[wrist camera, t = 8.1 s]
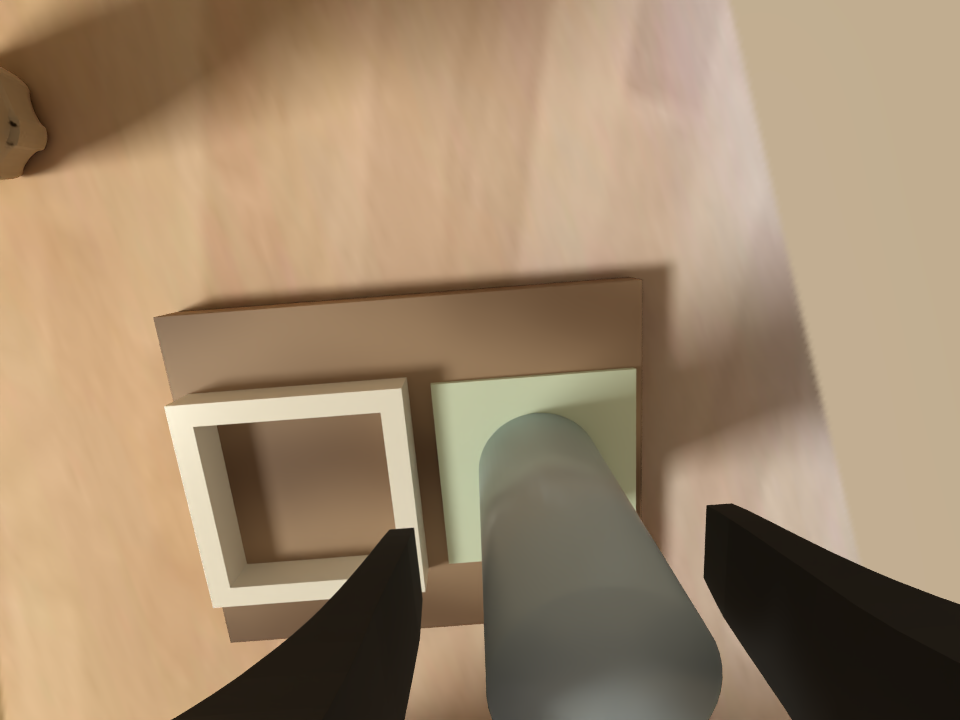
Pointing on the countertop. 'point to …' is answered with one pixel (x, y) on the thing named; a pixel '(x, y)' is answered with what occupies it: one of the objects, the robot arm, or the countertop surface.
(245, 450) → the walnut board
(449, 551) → the pad
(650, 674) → the grey-blue cylinder
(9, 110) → the handle
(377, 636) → the robot arm
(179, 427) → the cream square frame
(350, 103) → the countertop surface
